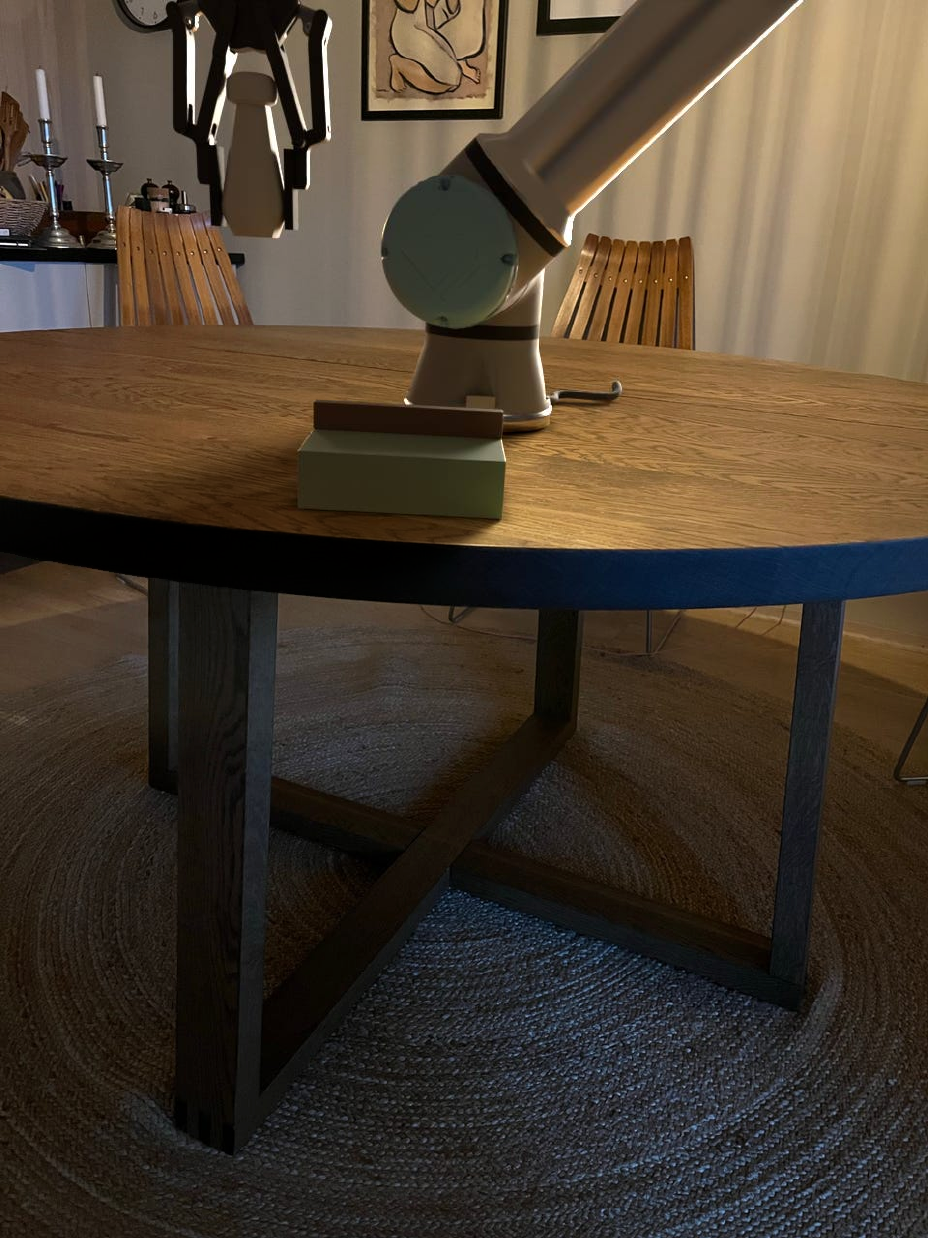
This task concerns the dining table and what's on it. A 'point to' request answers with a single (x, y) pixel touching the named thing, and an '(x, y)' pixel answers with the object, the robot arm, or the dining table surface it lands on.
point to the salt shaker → (253, 160)
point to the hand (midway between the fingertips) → (255, 227)
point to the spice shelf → (403, 460)
